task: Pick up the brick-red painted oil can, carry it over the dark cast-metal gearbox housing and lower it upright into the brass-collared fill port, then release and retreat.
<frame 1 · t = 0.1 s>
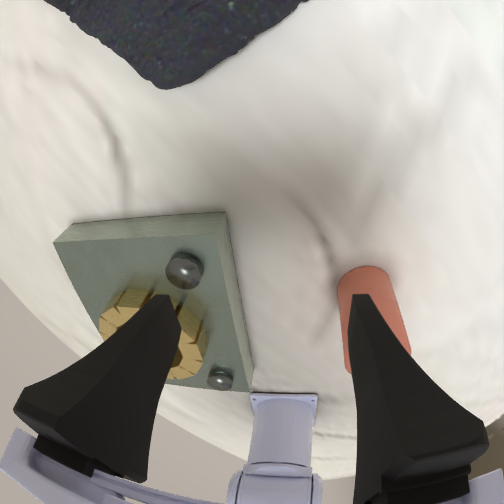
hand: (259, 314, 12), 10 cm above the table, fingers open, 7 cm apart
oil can: (364, 288, 23), on the table
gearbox: (167, 305, 27), on the table
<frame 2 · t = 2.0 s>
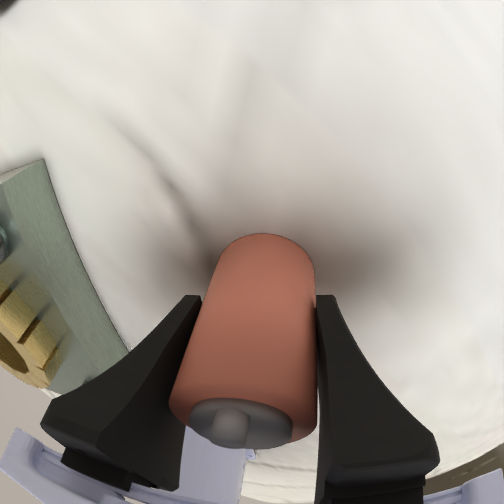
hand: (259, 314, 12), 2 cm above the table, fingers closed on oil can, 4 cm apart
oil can: (265, 276, 14), on the table, touching gripper
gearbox: (32, 295, 18), on the table
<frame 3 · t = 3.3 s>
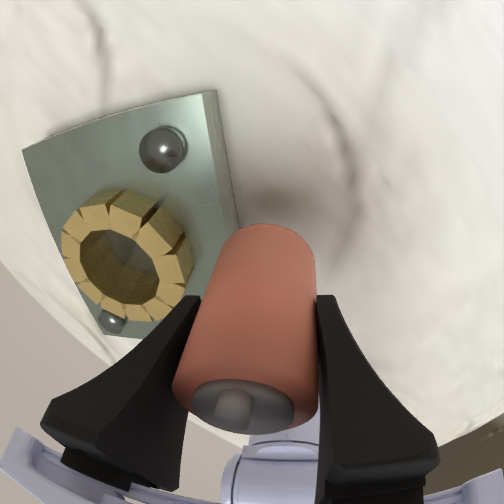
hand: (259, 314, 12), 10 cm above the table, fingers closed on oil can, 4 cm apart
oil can: (266, 266, 14), point 7 cm above the table, touching gripper
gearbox: (147, 230, 22), on the table
when the fingers open (7 cm above the table, at t = 5.0 s): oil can drops 2 cm, resting on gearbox.
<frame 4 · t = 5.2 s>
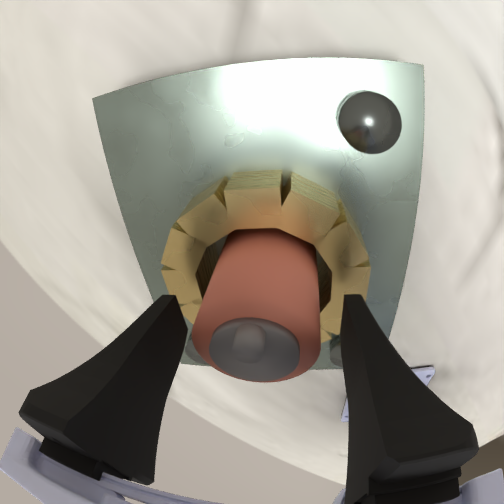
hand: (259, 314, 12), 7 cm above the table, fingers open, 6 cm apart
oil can: (272, 239, 16), point 2 cm above the table, touching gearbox
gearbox: (272, 230, 17), on the table
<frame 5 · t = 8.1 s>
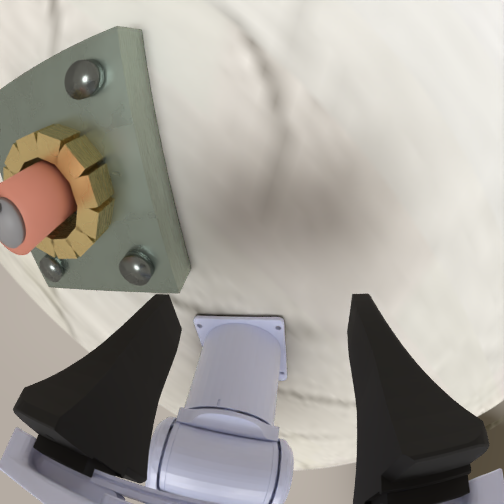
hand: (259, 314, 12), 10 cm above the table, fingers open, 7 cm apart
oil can: (73, 176, 19), point 2 cm above the table, touching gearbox
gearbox: (84, 172, 20), on the table
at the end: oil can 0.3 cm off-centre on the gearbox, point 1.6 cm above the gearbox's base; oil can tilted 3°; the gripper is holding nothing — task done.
